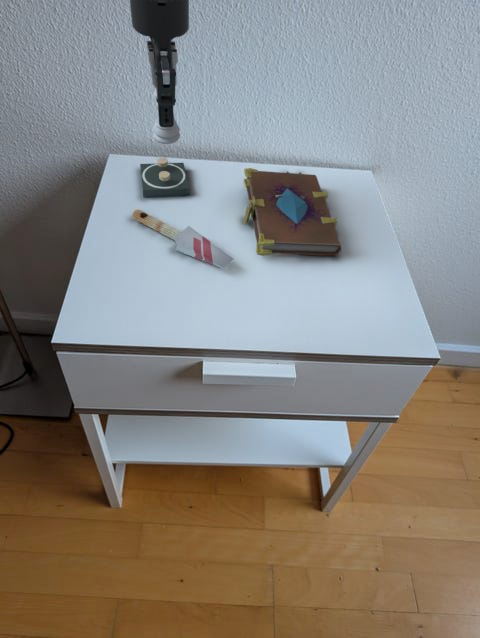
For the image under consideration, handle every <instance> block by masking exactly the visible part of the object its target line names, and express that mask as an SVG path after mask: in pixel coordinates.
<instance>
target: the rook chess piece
mask: <svg viewBox="0 0 480 638" xmlns="http://www.w3.org/2000/svg"><path fill="white" fill-rule="evenodd" d="M153 96H154V97H155V98H156V97H157V92H156V89H155V90H154V91H153ZM155 105H156V119H155V121H154V124H153V127H152V132H153V133H152V137H153V139H154V140H155V141H156V142H158V143H160V144H163V145H173V144H175V143H177V142H178V140H179V139H180V138H181V133H180V131H181V130H180V126H179V125H178V123H177V121H176V118H175V113H174V111H173V117H174V125H173V127H161V126H160V125H159V114H158V103H157V101H155ZM174 106H175V105H173V107H174Z"/></svg>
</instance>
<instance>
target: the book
mask: <svg viewBox="0 0 480 638" xmlns="http://www.w3.org/2000/svg"><path fill="white" fill-rule="evenodd" d="M243 171H244V176H245V178H243V185H244V186H245V188H246V191H247V196H248V206H247V207H246V210H245V214H244V217H243V221H242V224H243V225H246V224H247V223H248V222H249V221H250V217H251V218H252V224H253V229H254V235H255V239H256V248H255V253H256V255H258V256H262V257H265V256H270V255H272V254H274V255H275V254H277V255H306V256H307V255H308V256H309V255H311V256H337V255H338V254H339V253H340V252H342V245H341V242H340V240H339V235H338V231H337V228H336V226H337V223H338V219H337V218H336V217H332V215H331V212H330V208H329V205H328V203H327V200H328V197H329V194H328V192H323V189H322V188H321V185H320V183H319V180H318V177H317V175H316V174H309V173H302V172H301V171H300V172H299V173H294V172H289V171H286V172H282V171H281V172H280V171H265V170H259V169H255V168H253V167H248V168H244V170H243Z"/></svg>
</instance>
